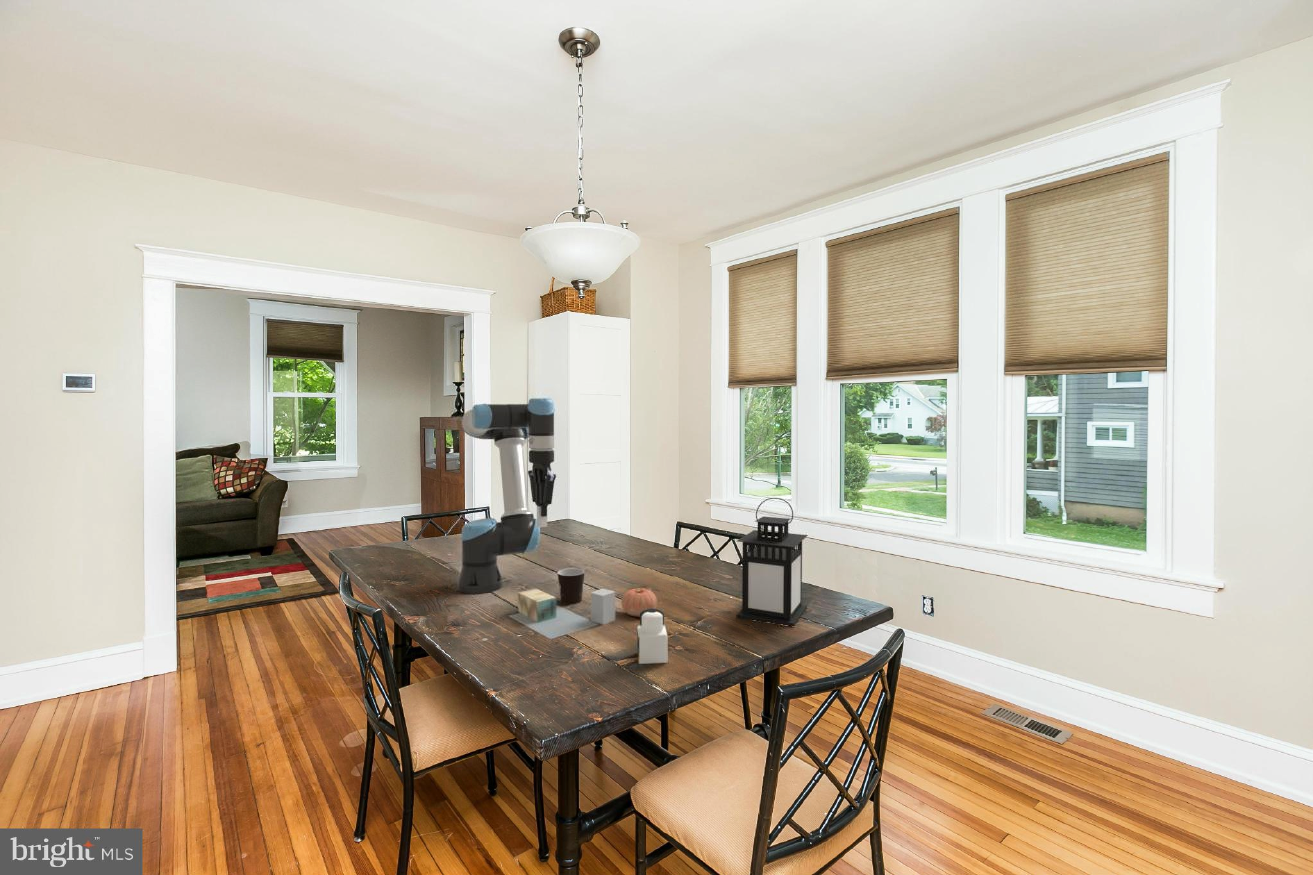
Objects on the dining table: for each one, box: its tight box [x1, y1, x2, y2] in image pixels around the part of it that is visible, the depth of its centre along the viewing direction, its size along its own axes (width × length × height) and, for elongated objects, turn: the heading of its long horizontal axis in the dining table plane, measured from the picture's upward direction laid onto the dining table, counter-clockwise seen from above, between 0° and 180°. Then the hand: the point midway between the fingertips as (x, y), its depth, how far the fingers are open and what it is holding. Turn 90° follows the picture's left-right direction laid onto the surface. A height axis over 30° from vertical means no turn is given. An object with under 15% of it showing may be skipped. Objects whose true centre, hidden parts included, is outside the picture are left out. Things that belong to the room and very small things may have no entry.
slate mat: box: [508, 604, 600, 640], centre depth 178 cm, size 24×16×1 cm, turn 41°
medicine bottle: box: [636, 608, 669, 665], centre depth 153 cm, size 7×7×12 cm
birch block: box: [517, 587, 557, 622], centre depth 183 cm, size 6×6×12 cm
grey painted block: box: [590, 588, 616, 625], centre depth 178 cm, size 5×5×9 cm
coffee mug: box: [557, 567, 586, 605], centre depth 197 cm, size 12×9×10 cm
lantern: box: [735, 497, 809, 627], centre depth 184 cm, size 17×17×35 cm
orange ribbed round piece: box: [620, 587, 658, 618], centre depth 184 cm, size 11×11×8 cm
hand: (542, 526), depth 185 cm, fingers closed
